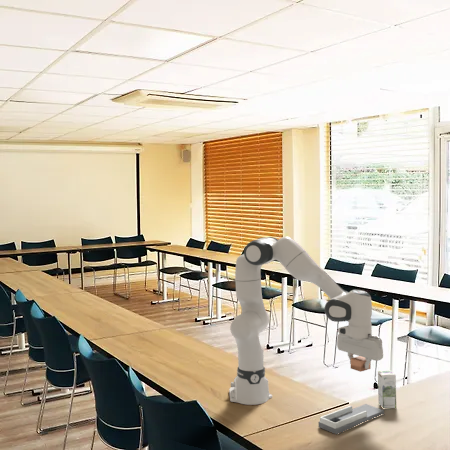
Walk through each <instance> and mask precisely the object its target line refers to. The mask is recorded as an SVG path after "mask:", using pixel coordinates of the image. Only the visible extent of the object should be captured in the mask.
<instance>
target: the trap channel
mask: <svg viewBox="0 0 450 450" xmlns="http://www.w3.org/2000/svg"><path fill="white" fill-rule="evenodd" d="M381 414H384V415H385V409H384V410H383V409H382V408H378V407H376V406H373V405H370V404H367V403H364V404H362V405H360V406H356V407H354V408H353V405H349V406H345V407H344V408H340V409H338V410H336V411H332V412H330V413H328V414H325V415H322V416H320V417H319V421H318V428H320V429H322V430H325V431H327V432H328V433H329V432H330V433H331V432H332V434H334V433H335V434H334V435H336V434H338V433H340V432H342V433H344V432H343V431H345V430H347V429H350V428H352V427H354V426H356V425H358V424H360V423H362V422H365V421H367V420H370V419H372V418H374V417H377V416H379V415H381ZM354 428H355V427H354ZM352 429H353V428H352ZM350 430H351V429H350ZM347 431H348V430H347ZM345 432H346V431H345ZM340 434H341V433H340ZM338 435H339V434H338Z"/></svg>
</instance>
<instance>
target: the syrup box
mask: <svg viewBox="0 0 450 450" xmlns="http://www.w3.org/2000/svg"><path fill="white" fill-rule="evenodd" d="M396 376H397V375H396V374H395V372H393V370H378V371H377V386H378V387H377V390H378V405H379V404H380V405H381V406H382V407H383V408H396V409H397V377H396ZM380 405H379V406H380Z"/></svg>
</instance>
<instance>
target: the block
mask: <svg viewBox="0 0 450 450" xmlns="http://www.w3.org/2000/svg"><path fill="white" fill-rule="evenodd" d="M353 357H354V356H353ZM366 361H367V360H365V357H361V356H358V355H357V356H355V357H354V358H351V364H350V369H351V370H354V371H357V372H365V371H367V370H371V368H372V367H371V363H372V361H371V362H370V363H369V368H368V369H365V368H363V364H364V363H366Z"/></svg>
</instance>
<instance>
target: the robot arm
mask: <svg viewBox="0 0 450 450" xmlns="http://www.w3.org/2000/svg"><path fill="white" fill-rule="evenodd" d="M243 252H244V253H243V254H241V255H239V256H238V257H236V258H237V259H236V261H235V263H236V264H235V271H234V273H235V274H234V277H235V279H234V280H235V281H234V282H235V296H236V299H237V300H238V302H239V305H240V307H241V314H238V315H237V316H236V317H235V318H234V319H232V321H231V323H230V327H229V328H230V329H229V330H230V333H231V335H232V336H233V338H234V339H235V343H236V347H237V359H238V362H237V363H238V365H237V366H238V367H237V370H236V377H234V379H233V381H231V382H230V387H229V389H228V392H229V401H230V402H232V403H233V402H234V403H239V404H241V405H246V406H247V405H248V406H252V405H256V406H257V405H261V404H264V403H266V402H267V401H269V400H270V399H272V398H273V394H271V393H270V388H269V379H268V378H267V377H266V368H265V366H264V365H265V364H264V363H265V361H264V349H263V347H262V345H261V342H260V341H261V340H260V333H262V332H264V331H265V330H266V328H267V327H268V325H269V324H270V315H269V313H268V312H267V310H266V307H265V303H264V299H263V295H262V293H263V291H262V279H261V278H262V275H261V271H262V270H261V269H262V266H263V265H266V264H267V265H268V264H270V263H272V262H275V261H277V262H279V263H280V264H281V265H282V266H283V267H284V268H285V270H286V271H287V272H288V273H289V275H291V276H292V277H293V278H294V279H296V280H298V281H302V282H308V283H312V284H314V285H315V286H317V287H318V288H319V289H320V290H322V292H323V293H324V294H325V295H326V296H327V297H328V298H329V300H328V301H326V303H325V305H324V313H325V316H326V317H327V319H329V320H330V321H332V322H336V323H337V322H338V323H339V322H340V323H341V322H347V323H348V325H345V326H340V327H338V329H337V333H338V334H337V338H336V340H337V341H336V347H337V349H338V350H339V351H342V352H345V353H347V357H348V359H349V364H350V365H351V358H354V355H356V356H357V357H358V356H361V357H365V360H367V361H366V363H364V364H363V368H365V369H368V368H369V363H370V362H371V363H372V361H375V362H377V361H381V360H382V359H383V358H384V348H383V340H382V339H381V338H380V336H378V335H374V334H372V333H373V332H372V329H373V328H372V327H373V326H372V325H373V324H372V314H373V305H372V297H371V295H370V293H368V292H367V291H365V290H361V289H352V290H350V291H347V290H345V289H343V287H341V286H340V285H339V284H338V283H337V282H336V281H335V280H334V279H333V278H332V277H331V276H330V275H329V274H328V273H327V272H326V271H324V269H322V268H321V267H320V265H318V263H317V262H316V261H315V260H314V259H313V258H312V256H310V254H309V253H308V251H307V250H305V249H304V247H303V246H301V245H300V244H299V243H298V241H296V240H294V239H293V238H291V236H283V237H280V238H276V237H272V236H267V237H265V236H264V237H260V238H258V239H253V240H252V241H250V242H248V243H247V244H246V245H245V247H244V251H243ZM368 370H369V369H368Z"/></svg>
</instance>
